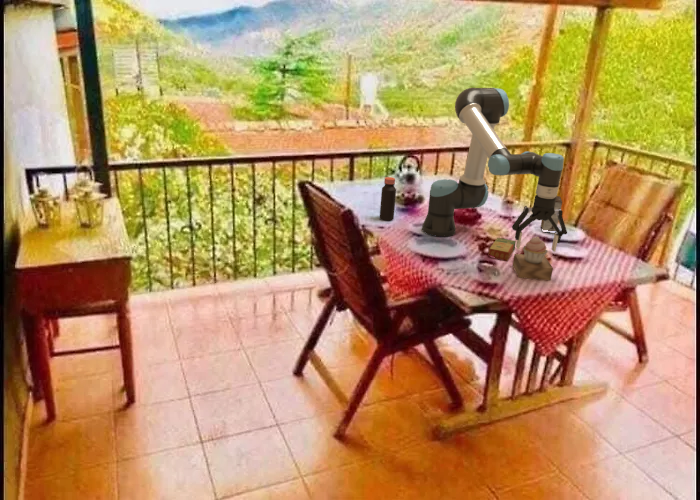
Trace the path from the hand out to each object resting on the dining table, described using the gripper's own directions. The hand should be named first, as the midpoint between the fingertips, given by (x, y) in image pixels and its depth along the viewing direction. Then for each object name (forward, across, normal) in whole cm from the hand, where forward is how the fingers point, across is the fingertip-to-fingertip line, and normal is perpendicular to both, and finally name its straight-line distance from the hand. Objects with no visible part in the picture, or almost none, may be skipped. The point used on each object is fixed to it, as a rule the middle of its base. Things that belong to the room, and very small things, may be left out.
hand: (535, 249), depth 217 cm
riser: (+10, 0, 0) cm, 10 cm away
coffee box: (+10, +20, +53) cm, 58 cm away
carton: (+11, -8, +19) cm, 23 cm away
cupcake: (+5, 0, 0) cm, 5 cm away
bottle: (+10, -57, +52) cm, 78 cm away
